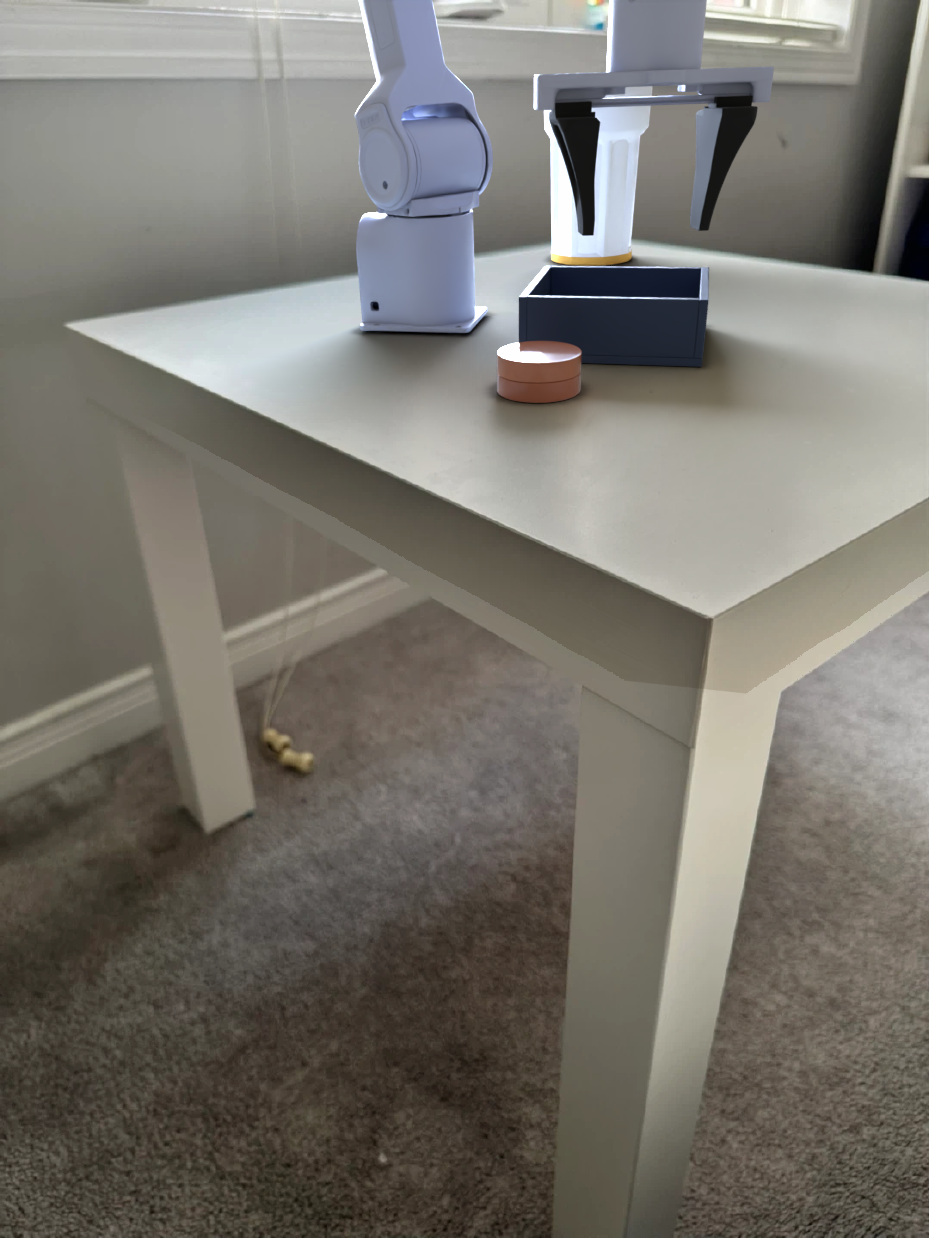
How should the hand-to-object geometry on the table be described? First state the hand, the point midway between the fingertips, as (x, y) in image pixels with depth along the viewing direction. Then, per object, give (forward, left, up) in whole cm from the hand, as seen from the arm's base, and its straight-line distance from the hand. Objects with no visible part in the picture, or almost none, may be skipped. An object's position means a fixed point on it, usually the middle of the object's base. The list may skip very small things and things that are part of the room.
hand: (642, 231), depth 61 cm
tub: (-2, +6, -9) cm, 11 cm away
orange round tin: (-6, -7, -9) cm, 13 cm away
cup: (-8, +43, -9) cm, 45 cm away
